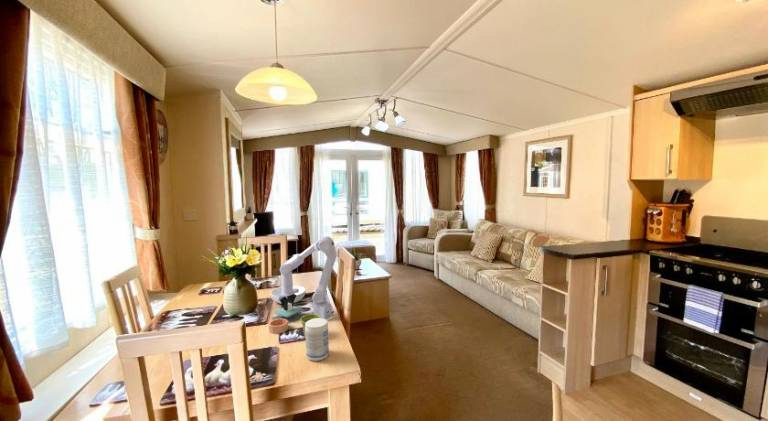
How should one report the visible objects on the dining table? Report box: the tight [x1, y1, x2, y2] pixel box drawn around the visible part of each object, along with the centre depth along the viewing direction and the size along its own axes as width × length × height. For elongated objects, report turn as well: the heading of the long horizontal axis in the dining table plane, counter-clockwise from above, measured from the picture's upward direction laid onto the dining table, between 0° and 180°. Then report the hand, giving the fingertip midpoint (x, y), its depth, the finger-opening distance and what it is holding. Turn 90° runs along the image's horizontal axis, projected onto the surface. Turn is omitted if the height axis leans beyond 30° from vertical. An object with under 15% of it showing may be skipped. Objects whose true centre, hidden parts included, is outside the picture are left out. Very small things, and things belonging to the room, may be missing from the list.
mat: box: [270, 312, 306, 325], centre depth 175 cm, size 13×13×1 cm
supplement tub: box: [304, 318, 330, 362], centre depth 136 cm, size 10×10×15 cm
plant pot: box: [299, 313, 320, 338], centre depth 154 cm, size 9×9×9 cm
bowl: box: [268, 319, 289, 335], centre depth 160 cm, size 9×9×4 cm
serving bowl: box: [269, 285, 307, 305], centre depth 198 cm, size 21×21×7 cm
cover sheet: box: [272, 303, 304, 317], centre depth 175 cm, size 11×11×4 cm
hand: (288, 309), depth 175 cm, fingers closed on cover sheet, 3 cm apart
